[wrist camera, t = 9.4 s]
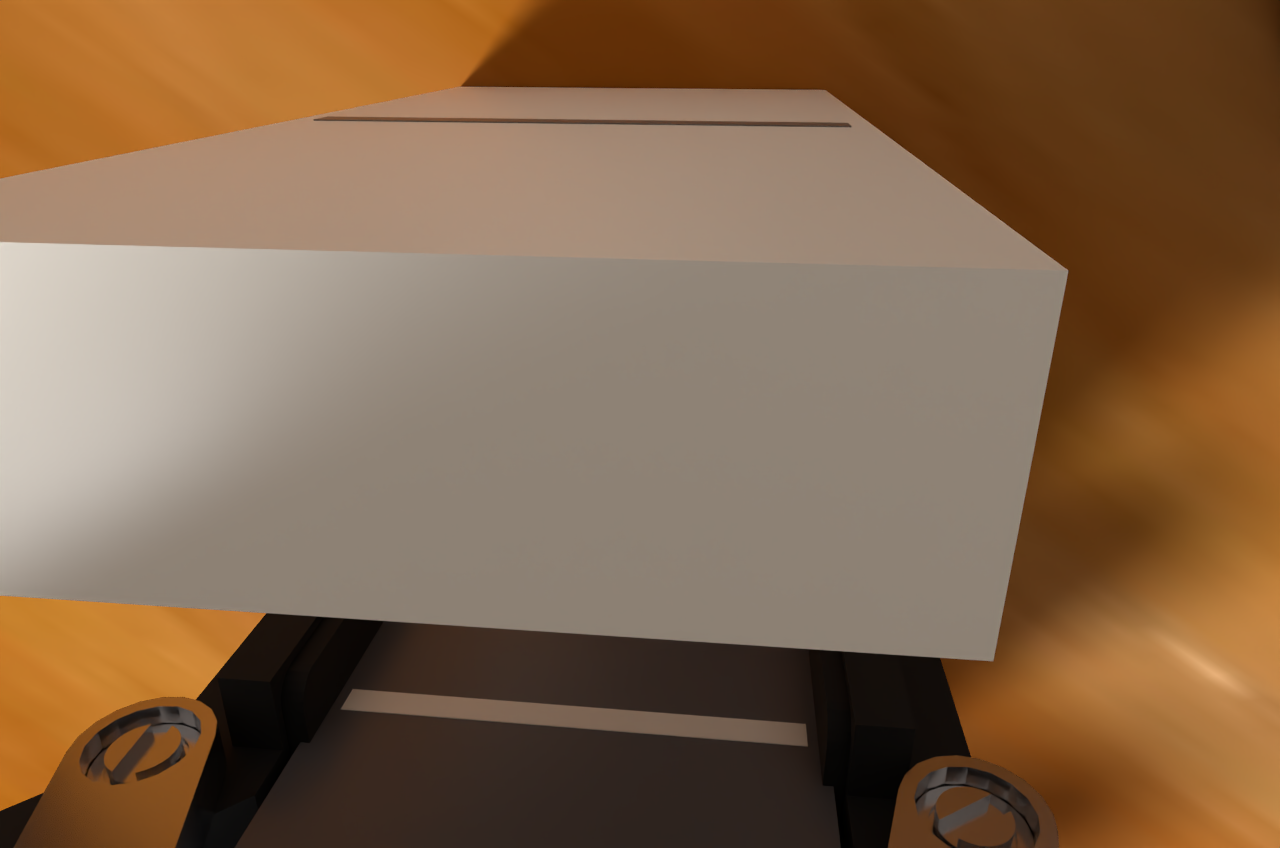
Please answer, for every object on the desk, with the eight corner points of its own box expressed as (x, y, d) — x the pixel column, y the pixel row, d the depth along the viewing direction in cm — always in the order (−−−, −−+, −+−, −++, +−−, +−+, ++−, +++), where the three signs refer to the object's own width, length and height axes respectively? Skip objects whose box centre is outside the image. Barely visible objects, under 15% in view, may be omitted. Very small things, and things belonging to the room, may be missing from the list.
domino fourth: (815, 211, 13) (993, 663, 4) (467, 203, 13) (-137, 588, 4) (825, 88, 12) (1069, 267, 3) (459, 86, 13) (-281, 232, 4)
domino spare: (465, 476, 14) (-79, 1348, 5) (799, 495, 13) (919, 1501, 4) (472, 568, 14) (6, 1494, 5) (790, 588, 14) (880, 1639, 5)
